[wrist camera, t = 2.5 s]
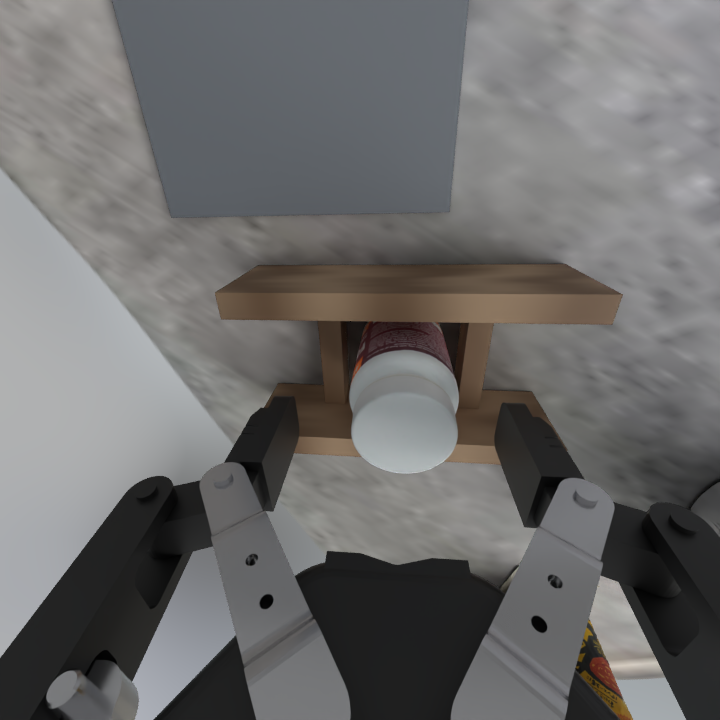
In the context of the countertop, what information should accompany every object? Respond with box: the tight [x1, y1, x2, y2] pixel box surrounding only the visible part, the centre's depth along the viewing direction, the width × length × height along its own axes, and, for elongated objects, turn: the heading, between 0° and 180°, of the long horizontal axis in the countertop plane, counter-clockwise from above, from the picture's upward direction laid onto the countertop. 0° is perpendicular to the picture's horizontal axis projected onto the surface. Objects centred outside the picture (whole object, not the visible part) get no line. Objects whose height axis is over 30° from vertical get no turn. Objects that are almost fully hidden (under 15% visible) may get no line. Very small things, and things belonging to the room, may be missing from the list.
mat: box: [112, 0, 469, 218], centre depth 13 cm, size 14×14×1 cm
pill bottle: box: [349, 321, 459, 474], centre depth 16 cm, size 5×5×8 cm
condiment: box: [500, 568, 633, 720], centre depth 26 cm, size 7×8×12 cm
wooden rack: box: [215, 264, 623, 465], centre depth 18 cm, size 16×9×5 cm, turn 92°
